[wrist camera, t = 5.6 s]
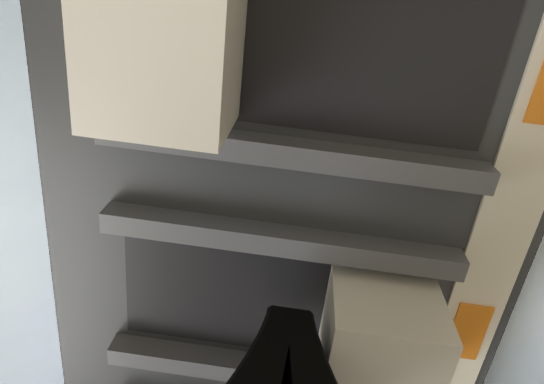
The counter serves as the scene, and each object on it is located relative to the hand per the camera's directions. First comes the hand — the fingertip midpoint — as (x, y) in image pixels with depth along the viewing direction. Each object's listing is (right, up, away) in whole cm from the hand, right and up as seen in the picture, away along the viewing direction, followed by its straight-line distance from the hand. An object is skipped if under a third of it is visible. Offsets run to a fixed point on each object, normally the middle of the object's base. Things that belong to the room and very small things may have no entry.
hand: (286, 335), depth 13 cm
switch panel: (0, +1, +3) cm, 3 cm away
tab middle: (+3, 0, +1) cm, 3 cm away
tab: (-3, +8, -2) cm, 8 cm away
